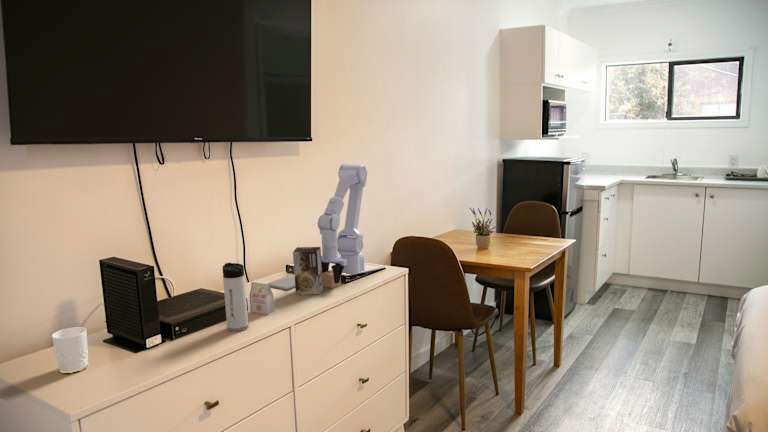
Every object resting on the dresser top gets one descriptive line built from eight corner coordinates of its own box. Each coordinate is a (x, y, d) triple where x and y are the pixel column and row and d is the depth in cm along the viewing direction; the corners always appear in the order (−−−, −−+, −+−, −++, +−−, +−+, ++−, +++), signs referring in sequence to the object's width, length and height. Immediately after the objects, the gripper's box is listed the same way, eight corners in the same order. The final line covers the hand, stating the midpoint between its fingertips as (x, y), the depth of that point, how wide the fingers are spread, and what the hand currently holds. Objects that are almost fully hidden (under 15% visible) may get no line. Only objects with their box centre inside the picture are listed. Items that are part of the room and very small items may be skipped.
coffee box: (323, 289, 211) (321, 246, 208) (319, 294, 205) (317, 250, 202) (299, 289, 212) (296, 246, 209) (295, 294, 206) (292, 251, 203)
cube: (330, 282, 219) (330, 270, 218) (341, 284, 216) (340, 271, 215) (322, 286, 215) (321, 273, 214) (332, 288, 212) (331, 275, 211)
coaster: (287, 277, 227) (287, 276, 227) (309, 282, 220) (309, 280, 220) (265, 285, 218) (264, 283, 218) (287, 290, 211) (287, 288, 211)
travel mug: (240, 322, 180) (236, 260, 176) (252, 327, 175) (247, 264, 172) (222, 328, 176) (217, 264, 172) (234, 333, 171) (228, 268, 167)
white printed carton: (257, 309, 192) (255, 280, 190) (274, 311, 189) (272, 282, 187) (250, 312, 189) (248, 283, 187) (267, 315, 186) (265, 285, 184)
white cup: (76, 360, 155) (71, 325, 153) (97, 364, 152) (93, 328, 150) (49, 372, 148) (44, 336, 146) (71, 377, 145) (66, 340, 143)
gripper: (307, 246, 214) (309, 281, 216) (337, 251, 206) (339, 287, 208) (320, 242, 219) (322, 277, 222) (350, 246, 211) (351, 282, 214)
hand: (331, 281), depth 215 cm, fingers closed on cube, 5 cm apart
